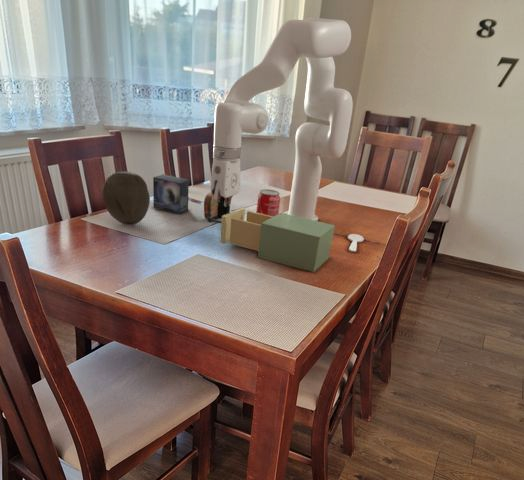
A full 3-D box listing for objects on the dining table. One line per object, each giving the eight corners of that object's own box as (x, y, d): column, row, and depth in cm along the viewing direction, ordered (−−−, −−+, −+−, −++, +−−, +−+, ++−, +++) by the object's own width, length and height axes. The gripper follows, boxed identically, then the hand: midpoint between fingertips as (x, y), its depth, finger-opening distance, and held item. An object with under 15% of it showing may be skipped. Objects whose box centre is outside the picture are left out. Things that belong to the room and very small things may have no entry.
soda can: (278, 232, 156) (283, 191, 150) (271, 238, 151) (277, 196, 144) (258, 227, 158) (262, 187, 151) (250, 233, 152) (254, 191, 145)
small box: (152, 208, 164) (151, 176, 159) (162, 204, 169) (162, 173, 164) (179, 214, 161) (179, 182, 156) (188, 210, 166) (189, 179, 161)
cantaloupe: (160, 225, 149) (160, 175, 141) (120, 232, 139) (118, 179, 132) (133, 213, 156) (132, 165, 149) (94, 219, 147) (90, 168, 139)
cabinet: (257, 257, 134) (261, 222, 129) (276, 244, 146) (280, 212, 140) (313, 272, 129) (319, 237, 124) (328, 258, 140) (335, 225, 135)
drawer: (201, 238, 140) (202, 211, 136) (222, 228, 150) (224, 203, 146) (268, 256, 133) (272, 228, 129) (285, 244, 144) (289, 218, 140)
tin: (210, 223, 157) (212, 197, 152) (201, 221, 157) (202, 195, 153) (223, 212, 169) (224, 187, 165) (214, 210, 170) (216, 186, 165)
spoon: (343, 250, 148) (343, 248, 147) (348, 234, 163) (349, 232, 163) (360, 253, 147) (361, 251, 147) (364, 236, 162) (364, 235, 162)
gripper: (225, 158, 125) (222, 227, 135) (250, 152, 137) (245, 215, 147) (201, 153, 127) (199, 221, 137) (227, 147, 139) (224, 210, 149)
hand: (223, 218), depth 142 cm, fingers closed
